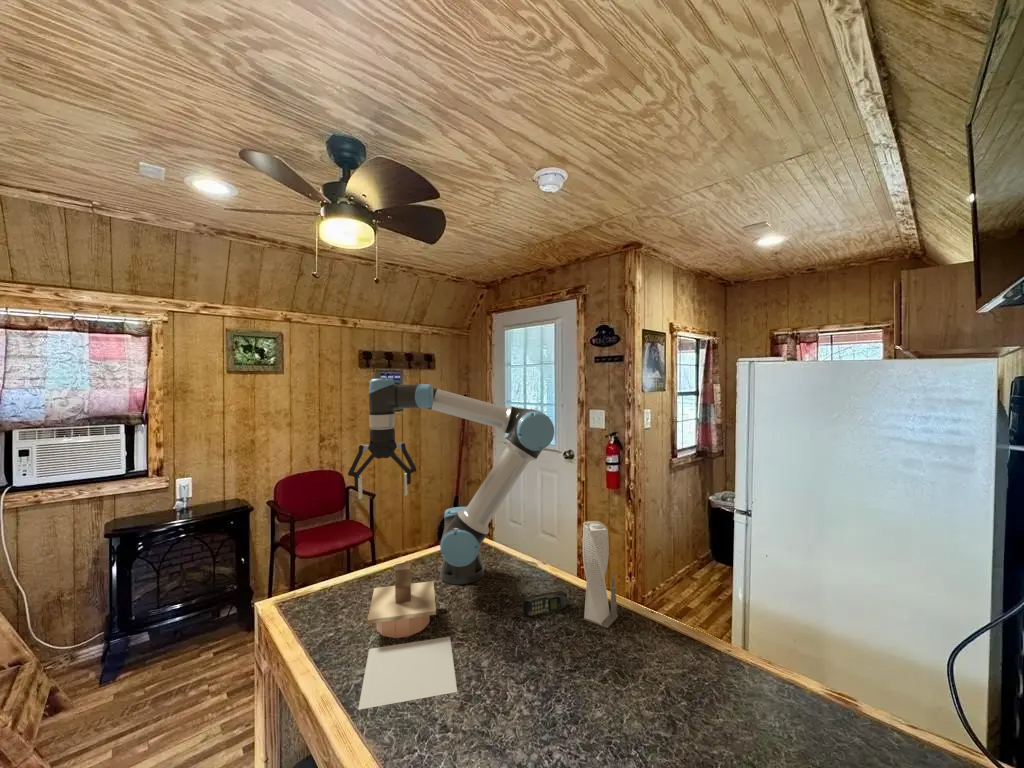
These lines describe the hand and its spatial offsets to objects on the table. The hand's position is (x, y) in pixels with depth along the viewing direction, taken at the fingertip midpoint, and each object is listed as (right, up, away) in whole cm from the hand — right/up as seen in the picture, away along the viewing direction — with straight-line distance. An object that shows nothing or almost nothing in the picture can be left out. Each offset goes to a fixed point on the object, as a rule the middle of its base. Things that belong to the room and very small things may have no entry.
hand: (383, 496), depth 129 cm
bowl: (+10, -32, -14) cm, 36 cm away
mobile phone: (+50, -31, -9) cm, 60 cm away
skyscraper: (+64, -31, -13) cm, 72 cm away
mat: (+16, -31, -33) cm, 49 cm away
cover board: (+10, -26, -14) cm, 31 cm away
